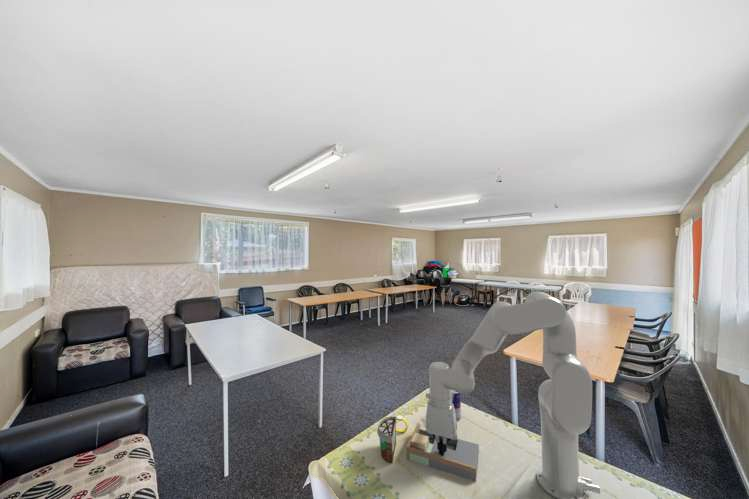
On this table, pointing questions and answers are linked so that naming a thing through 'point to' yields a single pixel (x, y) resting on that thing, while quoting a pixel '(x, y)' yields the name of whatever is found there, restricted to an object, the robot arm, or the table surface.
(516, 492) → the table surface
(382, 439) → the food container
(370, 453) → the table surface
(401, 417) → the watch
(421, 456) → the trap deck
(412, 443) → the birch block
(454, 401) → the energy drink
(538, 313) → the robot arm
